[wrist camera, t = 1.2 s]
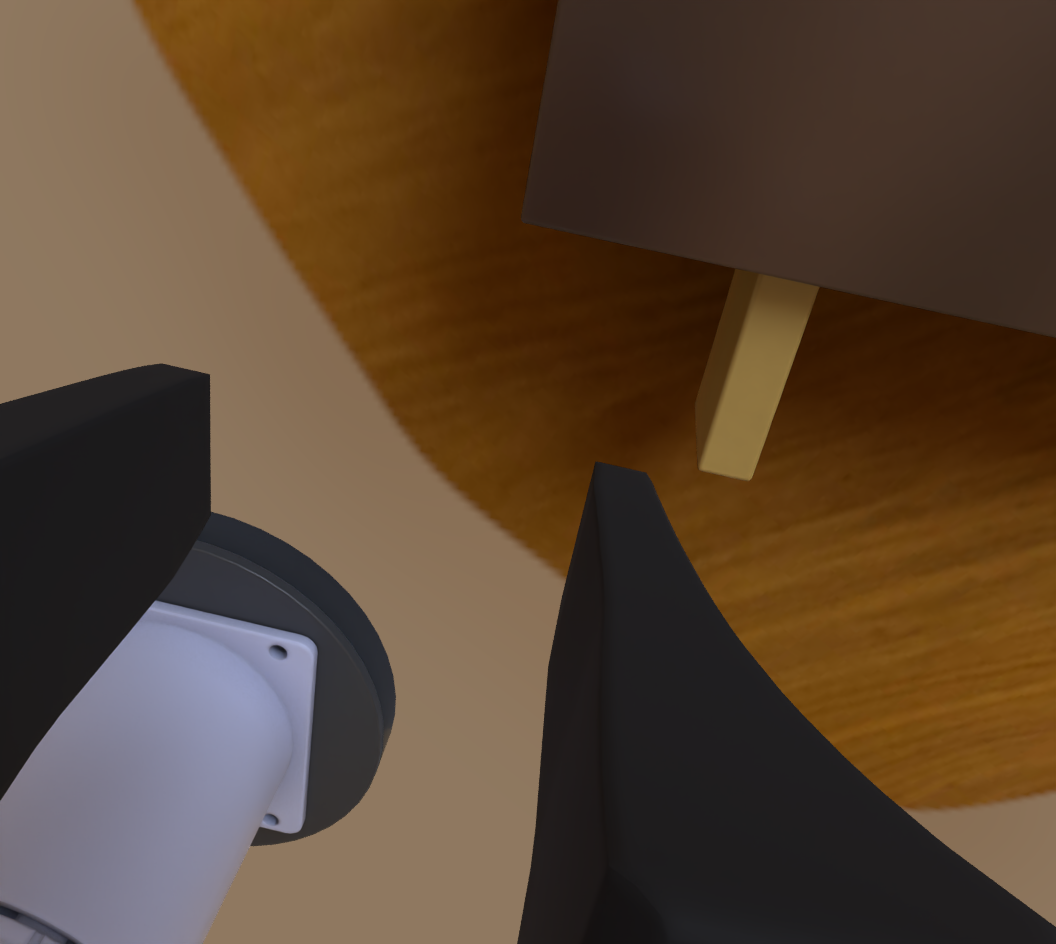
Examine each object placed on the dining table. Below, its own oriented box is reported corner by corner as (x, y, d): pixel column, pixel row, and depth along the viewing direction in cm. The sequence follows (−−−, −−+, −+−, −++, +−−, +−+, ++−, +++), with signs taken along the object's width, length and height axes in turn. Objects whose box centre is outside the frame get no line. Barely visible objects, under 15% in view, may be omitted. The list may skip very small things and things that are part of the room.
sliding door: (562, 354, 20) (537, 436, 16) (608, 137, 17) (591, 177, 14) (869, 422, 19) (911, 521, 16) (957, 210, 17) (1029, 271, 14)
